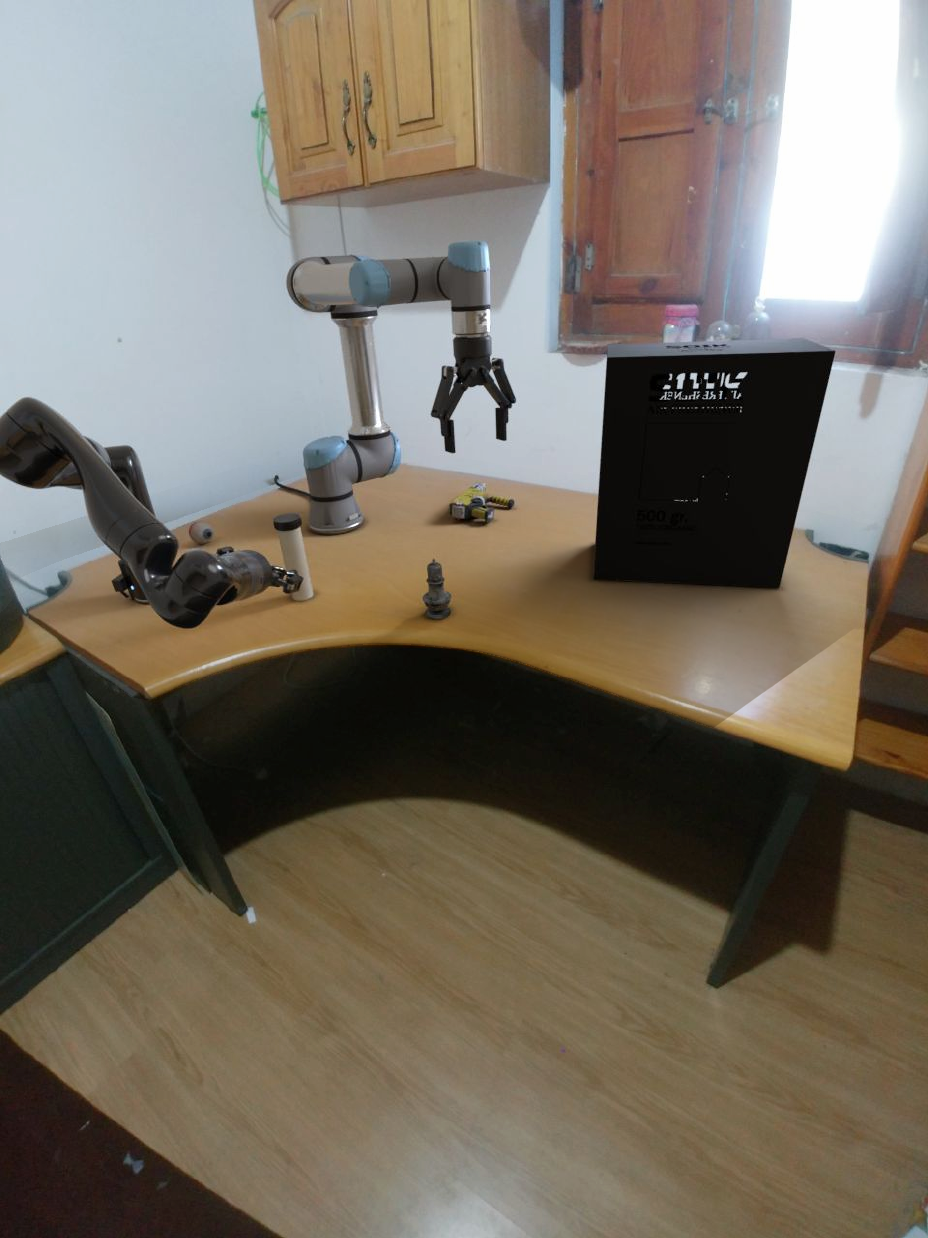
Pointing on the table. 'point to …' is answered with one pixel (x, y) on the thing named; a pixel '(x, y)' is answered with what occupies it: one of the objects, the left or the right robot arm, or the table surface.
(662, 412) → the cardboard box
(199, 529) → the eyeball
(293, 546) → the jar
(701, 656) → the table surface
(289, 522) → the lid
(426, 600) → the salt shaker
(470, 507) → the toy gun
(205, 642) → the table surface
